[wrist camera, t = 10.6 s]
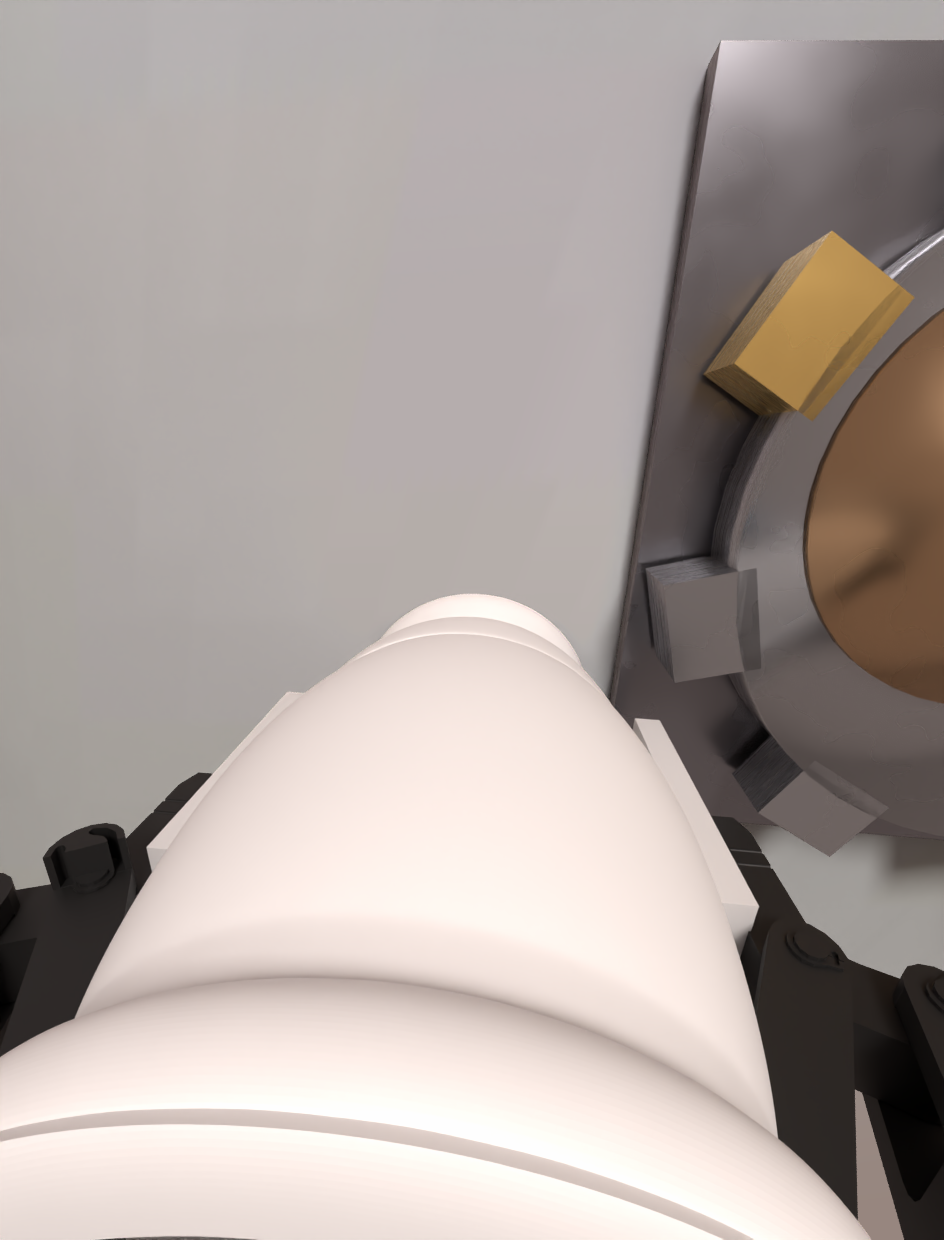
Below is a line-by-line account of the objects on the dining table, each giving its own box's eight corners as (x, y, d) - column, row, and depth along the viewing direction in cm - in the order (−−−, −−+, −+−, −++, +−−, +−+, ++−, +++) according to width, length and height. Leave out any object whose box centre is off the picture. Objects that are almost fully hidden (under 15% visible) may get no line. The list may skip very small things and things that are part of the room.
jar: (567, 838, 20) (690, 1709, 6) (324, 780, 20) (-94, 1529, 6) (656, 600, 17) (1400, 1405, 3) (360, 529, 17) (-428, 977, 3)
